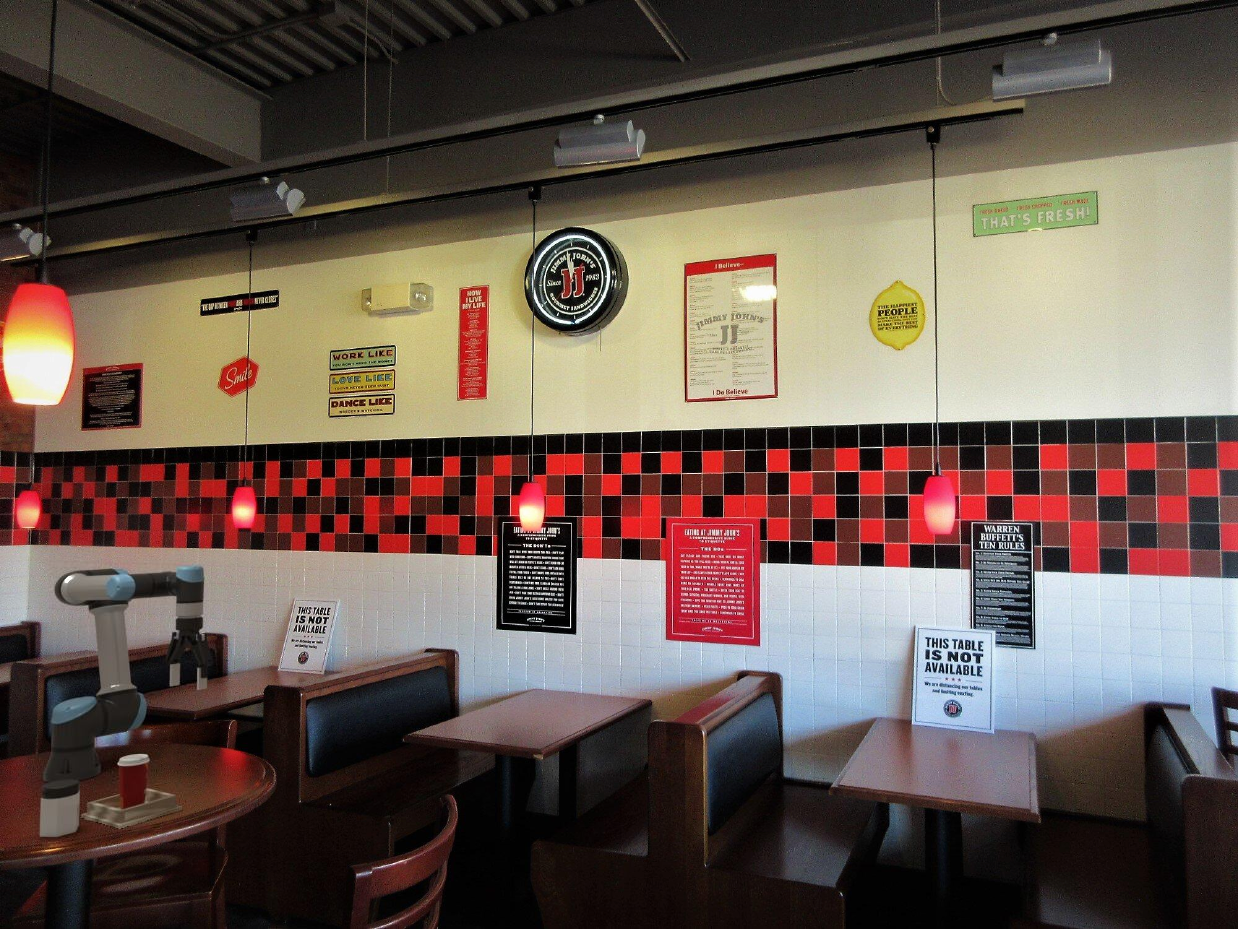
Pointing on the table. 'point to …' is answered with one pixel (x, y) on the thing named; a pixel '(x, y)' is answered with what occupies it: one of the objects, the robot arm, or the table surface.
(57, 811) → the jar
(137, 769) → the paper cup
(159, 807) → the cup tray
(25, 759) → the table surface
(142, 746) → the table surface
